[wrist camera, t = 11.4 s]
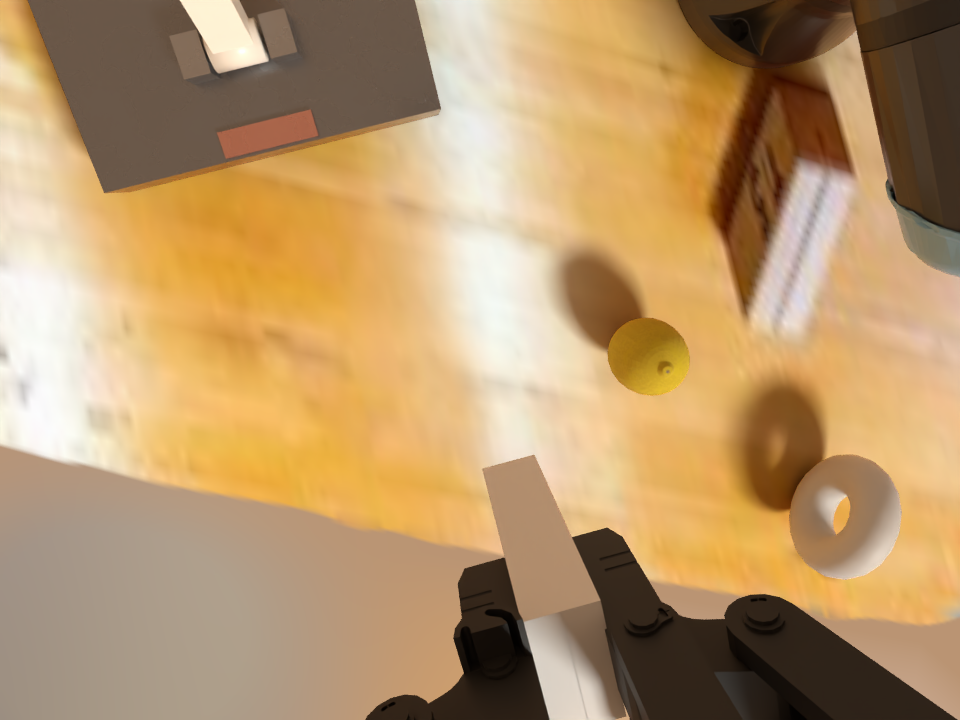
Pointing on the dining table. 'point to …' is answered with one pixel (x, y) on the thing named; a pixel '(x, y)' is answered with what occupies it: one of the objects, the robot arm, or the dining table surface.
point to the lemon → (648, 356)
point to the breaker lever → (227, 33)
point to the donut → (867, 523)
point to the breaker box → (230, 82)
